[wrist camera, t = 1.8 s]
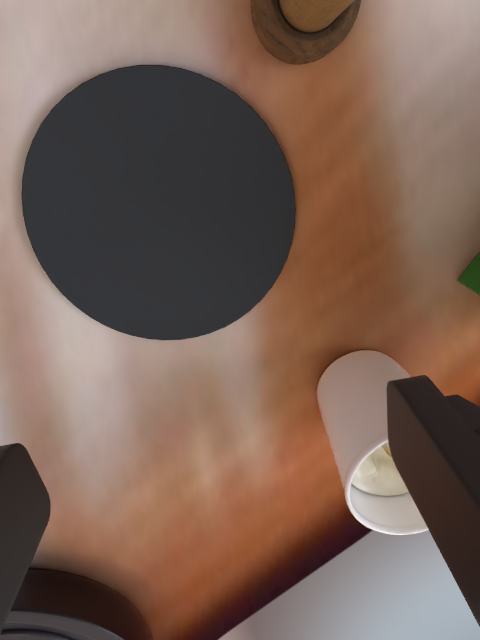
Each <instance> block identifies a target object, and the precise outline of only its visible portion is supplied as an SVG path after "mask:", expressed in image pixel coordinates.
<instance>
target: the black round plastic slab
mask: <svg viewBox="0 0 480 640" xmlns="http://www.w3.org/2000/svg"><path fill="white" fill-rule="evenodd" d="M0 640H153V638H152V635H151V632H150V630H149V628H148V626H147V624H146V622H145V621H144V619H143V618H142V616H141V615H140V613H139V612H138V611H137V610H136V608H135V607H134V606H133V605H132V604H131V603H130V602H129V601H127V600H126V599H125V598H124V597H122V596H121V595H119V594H118V593H117V592H115V591H113V590H112V589H110V588H108V587H106V586H104V585H102V584H100V583H98V582H95V581H93V580H90V579H87V578H84V577H81V576H78V575H74V574H70V573H65V572H59V571H53V570H43V569H28V571H27V573H26V575H25V578H24V580H23V582H22V585H21V587H20V589H19V592H18V594H17V596H16V599H15V601H14V603H13V606H12V608H11V610H10V613H9V615H8V617H7V620H6V622H5V624H4V627H3V629H2V632H1V634H0Z"/></svg>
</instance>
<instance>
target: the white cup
mask: <svg viewBox="0 0 480 640" xmlns="http://www.w3.org/2000/svg"><path fill="white" fill-rule="evenodd" d="M410 377H411V376H410V375H409V374H408V373H407V372H406V371H405V370H404V369H403V368H402V367H401V366H400V365H399V364H398V363H397V362H396V361H395V360H394V359H392V358H391V357H390V356H388V355H386V354H384V353H381V352H378V351H372V350H361V351H355V352H351V353H348V354H346V355H344V356H342V357H340V358H338V359H337V360H335V361H334V362H333V363H332V364H330V365H329V366H328V368H327V369H326V370H325V371H324V373H323V374H322V376H321V378H320V380H319V383H318V387H317V401H318V405H319V409H320V413H321V416H322V420H323V423H324V426H325V429H326V433H327V436H328V439H329V443H330V446H331V449H332V452H333V456H334V459H335V462H336V466H337V469H338V472H339V475H340V479H341V482H342V485H343V489H344V492H345V498H346V502H347V505H348V507H349V509H350V511H351V513H352V514H353V516H354V517H355V518H356V519H357V520H358V521H359V522H360V523H362V524H363V525H365V526H366V527H368V528H370V529H372V530H375V531H378V532H381V533H386V534H395V535H405V534H414V533H420V532H424V531H427V530H429V529H428V527H427V525H426V523H425V522H424V520H423V518H422V516H421V514H420V512H419V510H418V508H417V506H416V504H415V502H414V501H413V499H412V497H411V495H410V493H409V491H408V489H407V487H406V485H405V483H404V482H403V480H402V478H401V476H400V474H399V472H398V470H397V468H396V466H395V464H394V461H393V459H392V456H391V452H390V448H389V443H388V427H387V383H388V382H389V381H392V380H398V379H404V378H410Z"/></svg>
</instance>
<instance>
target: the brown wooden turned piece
mask: <svg viewBox="0 0 480 640" xmlns="http://www.w3.org/2000/svg"><path fill="white" fill-rule="evenodd" d="M360 2H361V0H252V1H251V11H252V19H253V24H254V28H255V30H256V33H257V35H258V37H259V39H260V41H261V43H262V44H263V46H264V47H265V48H266V49H267V51H268V52H269V53H271V54H272V55H273V56H274V57H276V58H277V59H279V60H281V61H284V62H287V63H291V64H306V63H310V62H314V61H316V60H318V59H320V58H322V57H324V56H325V55H327V54H328V53H329V52H330V51H332V50H333V49H334V48H336V47H337V46H338V45H339V44H340V43H341V42H342V41H343V40H344V38H345V37H346V36H347V34H348V33H349V31H350V30H351V28H352V26H353V24H354V22H355V19H356V17H357V14H358V11H359V7H360Z"/></svg>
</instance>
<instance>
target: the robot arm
mask: <svg viewBox="0 0 480 640" xmlns="http://www.w3.org/2000/svg"><path fill="white" fill-rule="evenodd" d="M387 427H388V443H389V448H390V452H391V456H392V459H393V461H394V464H395V466H396V468H397V470H398V472H399V474H400V476H401V478H402V480H403V482H404V483H405V485H406V487H407V489H408V491H409V493H410V495H411V497H412V499H413V501H414V502H415V504H416V506H417V508H418V510H419V512H420V514H421V516H422V518H423V520H424V522H425V523H426V525H427V527H428V529H429V531H430V533H431V535H432V537H433V539H434V540H435V542H436V544H437V546H438V548H439V550H440V552H441V554H442V556H443V558H444V560H445V562H446V563H447V565H448V567H449V569H450V571H451V573H452V575H453V577H454V579H455V581H456V582H457V584H458V586H459V588H460V590H461V592H462V594H463V596H464V597H465V600H466V601H467V603H468V605H469V607H470V609H471V611H472V613H473V615H474V617H475V619H476V620H477V622H478V624H479V626H480V407H479V406H477V405H475V404H473V403H471V402H470V401H468V400H466V399H464V398H462V397H461V396H459V395H451V396H444V395H443V394H442V393H441V392H440V390H439V389H438V388H437V387H436V386H435V385H434V383H433V382H432V381H431V380H430V379H429V378H428V377H427V376H425V375H421V376H415V377H410V378H404V379H398V380H392V381H389V382H388V383H387ZM49 517H50V498H49V494H48V492H47V489H46V487H45V485H44V483H43V481H42V479H41V477H40V475H39V473H38V471H37V469H36V467H35V465H34V463H33V461H32V459H31V457H30V455H29V453H28V451H27V450H26V448H25V447H24V446H23V445H22V444H19V443H15V444H9V445H4V446H0V634H1V632H2V629H3V627H4V624H5V622H6V620H7V617H8V615H9V613H10V610H11V608H12V606H13V603H14V601H15V599H16V596H17V594H18V592H19V589H20V587H21V585H22V582H23V580H24V578H25V575H26V573H27V571H28V568H29V566H30V564H31V561H32V559H33V557H34V554H35V552H36V549H37V547H38V545H39V542H40V540H41V538H42V535H43V533H44V531H45V528H46V526H47V524H48V521H49Z"/></svg>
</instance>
